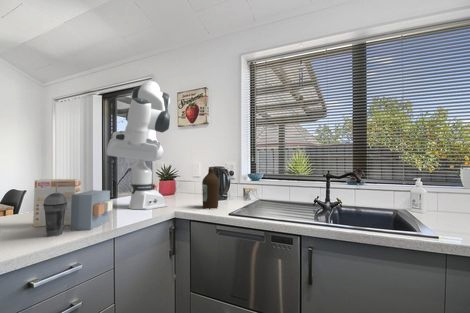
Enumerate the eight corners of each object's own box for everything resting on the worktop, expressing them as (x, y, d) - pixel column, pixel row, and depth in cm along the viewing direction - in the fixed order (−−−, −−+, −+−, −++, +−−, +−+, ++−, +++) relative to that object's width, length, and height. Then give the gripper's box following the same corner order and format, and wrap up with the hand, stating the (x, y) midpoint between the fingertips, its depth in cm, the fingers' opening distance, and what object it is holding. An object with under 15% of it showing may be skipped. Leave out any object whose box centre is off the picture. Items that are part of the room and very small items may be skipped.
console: (109, 220, 106) (110, 190, 106) (90, 229, 92) (91, 195, 92) (91, 220, 106) (92, 190, 106) (70, 229, 92) (71, 194, 92)
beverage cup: (63, 230, 91) (65, 180, 91) (68, 234, 86) (70, 181, 86) (40, 234, 85) (42, 181, 86) (43, 239, 80) (46, 182, 81)
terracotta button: (103, 213, 98) (104, 203, 98) (98, 215, 94) (98, 205, 94) (89, 213, 98) (90, 203, 98) (83, 215, 94) (84, 205, 94)
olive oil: (214, 205, 148) (215, 166, 148) (221, 208, 139) (222, 167, 139) (199, 206, 143) (200, 166, 143) (205, 209, 134) (206, 167, 134)
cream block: (112, 209, 105) (112, 201, 105) (107, 211, 101) (107, 202, 101) (99, 209, 105) (99, 200, 105) (93, 211, 101) (94, 202, 101)
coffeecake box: (80, 221, 105) (81, 178, 105) (73, 225, 98) (75, 179, 99) (41, 222, 101) (43, 178, 102) (32, 227, 94) (34, 180, 95)
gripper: (159, 139, 105) (154, 168, 107) (109, 131, 95) (105, 163, 98) (161, 142, 99) (156, 172, 102) (108, 134, 90) (103, 167, 92)
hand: (130, 167), depth 99 cm, fingers closed
